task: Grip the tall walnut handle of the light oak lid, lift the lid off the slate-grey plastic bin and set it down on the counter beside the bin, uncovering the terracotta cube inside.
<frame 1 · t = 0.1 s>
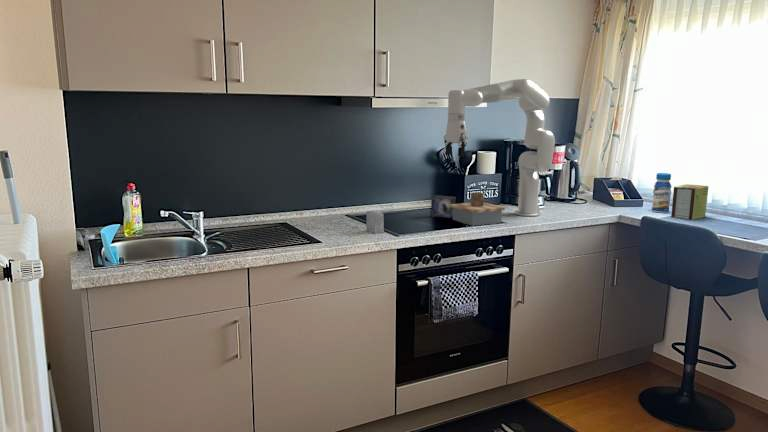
hand: (454, 155, 267), 31 cm above the countertop, tool pointing down, fingers open, 9 cm apart
small box: (442, 218, 282), on the countertop
slate bin: (476, 223, 269), on the countertop
oak lid: (477, 208, 268), point 7 cm above the countertop, touching slate bin
terracotta cube: (476, 221, 269), point 1 cm above the countertop, touching slate bin
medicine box: (374, 232, 249), on the countertop
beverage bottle: (660, 212, 303), on the countertop
protein box: (688, 217, 289), on the countertop
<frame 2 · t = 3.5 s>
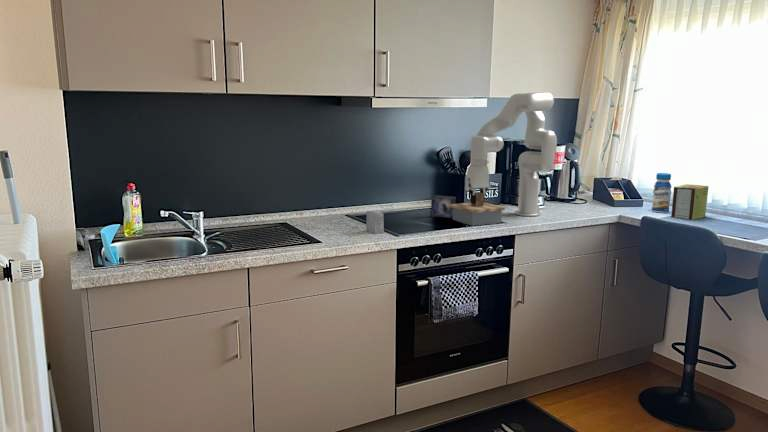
hand: (477, 202, 267), 10 cm above the countertop, tool pointing down, fingers closed on oak lid, 4 cm apart
oak lid: (477, 208, 268), point 7 cm above the countertop, touching gripper, slate bin
everything else where it was.
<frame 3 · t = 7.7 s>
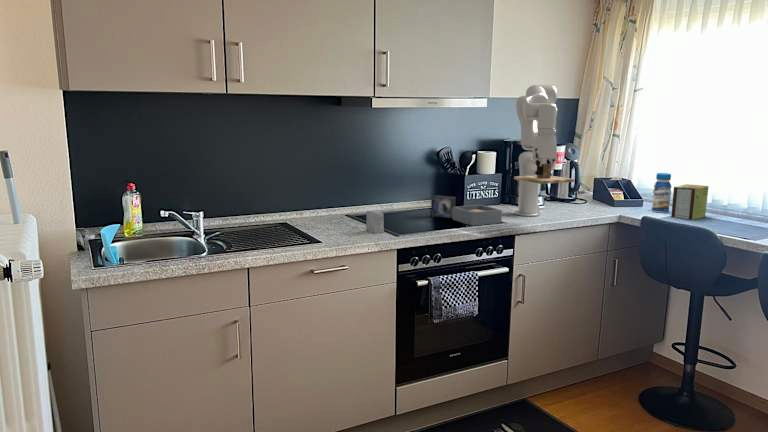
hand: (543, 174, 254), 24 cm above the countertop, tool pointing down, fingers closed on oak lid, 4 cm apart
oak lid: (543, 180, 254), point 22 cm above the countertop, touching gripper
everything else where it was.
when the fingers open (5 cm above the countertop, at t = 11.9 s): oak lid drops 3 cm, on the countertop.
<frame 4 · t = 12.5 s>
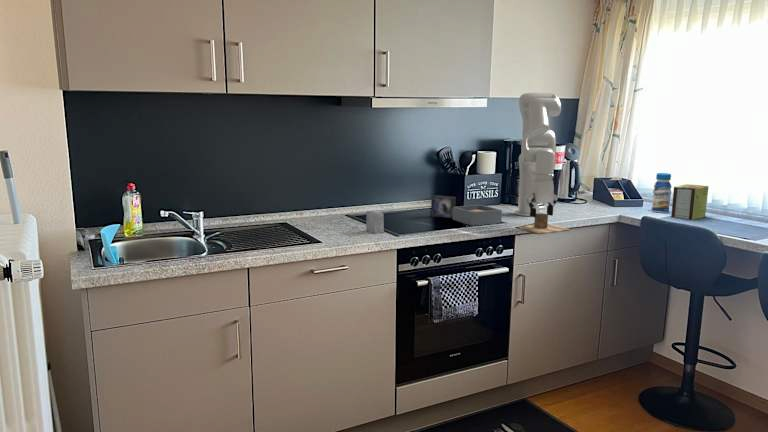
hand: (541, 215, 257), 6 cm above the countertop, tool pointing down, fingers open, 9 cm apart
oak lid: (540, 229, 258), on the countertop
everything else where it was.
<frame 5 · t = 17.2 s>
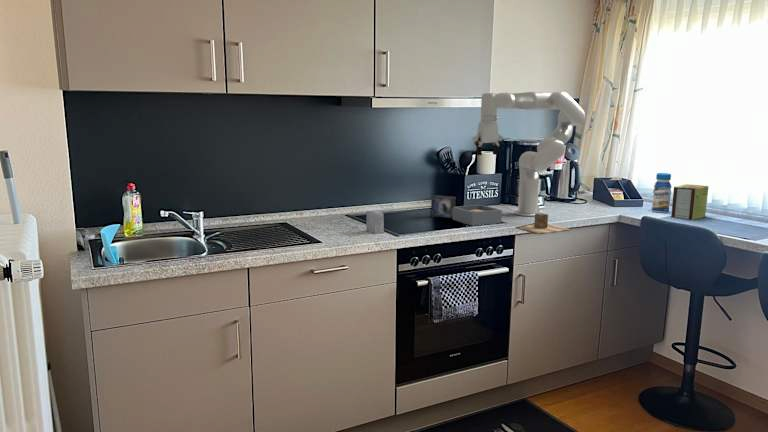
hand: (487, 154, 282), 30 cm above the countertop, tool pointing down, fingers open, 9 cm apart
nothing on the countertop moved.
at the end: oak lid inside the target area (0.0 cm from its centre), on the countertop; oak lid touching countertop; the gripper is holding nothing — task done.
